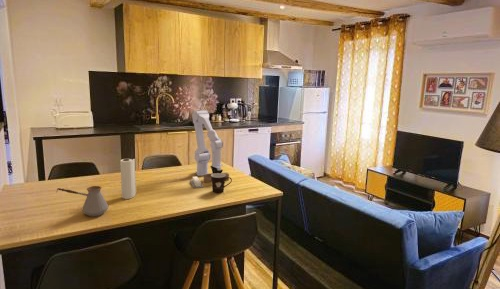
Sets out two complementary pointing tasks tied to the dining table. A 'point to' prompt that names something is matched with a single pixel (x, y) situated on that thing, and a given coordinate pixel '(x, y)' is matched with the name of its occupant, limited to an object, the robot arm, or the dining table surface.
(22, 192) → the dining table surface
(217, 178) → the coffee mug
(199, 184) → the ridge
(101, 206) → the coffee pot
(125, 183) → the paper towel roll
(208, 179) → the walnut bar
